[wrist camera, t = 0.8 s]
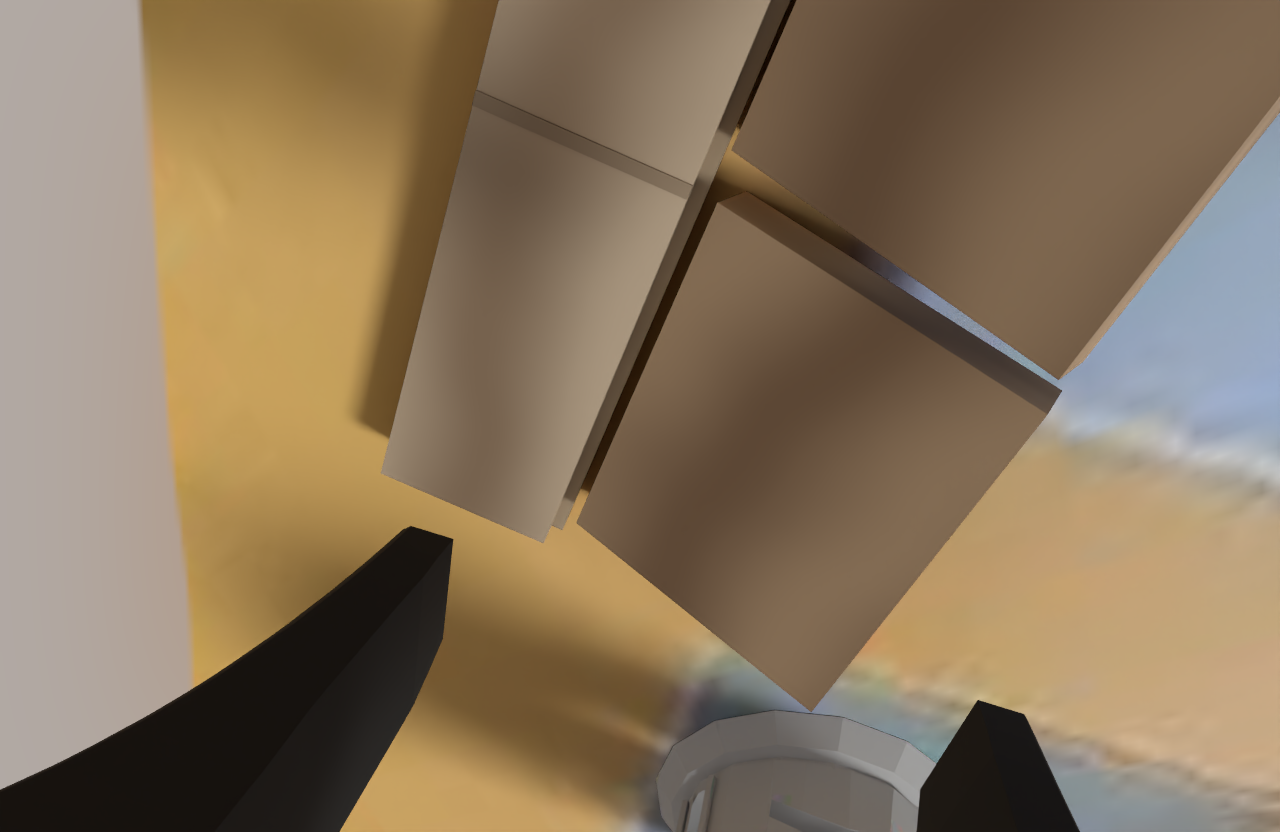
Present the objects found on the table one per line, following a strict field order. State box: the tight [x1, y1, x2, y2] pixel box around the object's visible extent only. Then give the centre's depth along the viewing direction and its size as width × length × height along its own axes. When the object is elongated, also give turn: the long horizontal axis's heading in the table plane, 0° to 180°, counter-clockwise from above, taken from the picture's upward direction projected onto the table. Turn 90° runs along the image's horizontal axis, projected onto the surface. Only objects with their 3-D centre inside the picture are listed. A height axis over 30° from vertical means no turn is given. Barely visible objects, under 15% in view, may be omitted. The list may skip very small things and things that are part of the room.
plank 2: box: [577, 191, 1062, 712], centre depth 20 cm, size 7×9×1 cm
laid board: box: [381, 0, 790, 543], centre depth 18 cm, size 5×21×1 cm, turn 160°
